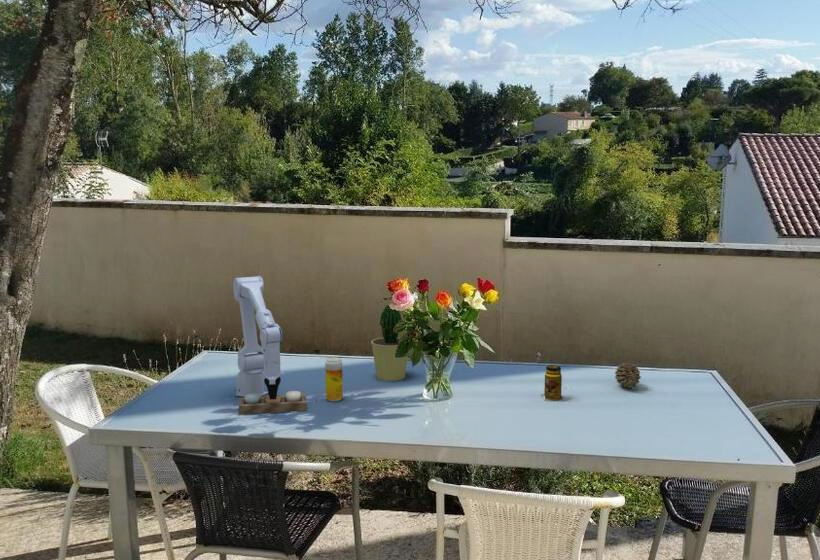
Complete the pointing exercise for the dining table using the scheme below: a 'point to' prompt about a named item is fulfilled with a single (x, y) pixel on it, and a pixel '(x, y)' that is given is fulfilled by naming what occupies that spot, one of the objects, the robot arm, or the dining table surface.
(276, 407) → the button board
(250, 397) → the slate button
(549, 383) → the condiment
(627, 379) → the pine cone
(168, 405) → the dining table surface
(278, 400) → the terracotta button
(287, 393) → the cream button
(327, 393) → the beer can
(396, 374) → the potted cactus
